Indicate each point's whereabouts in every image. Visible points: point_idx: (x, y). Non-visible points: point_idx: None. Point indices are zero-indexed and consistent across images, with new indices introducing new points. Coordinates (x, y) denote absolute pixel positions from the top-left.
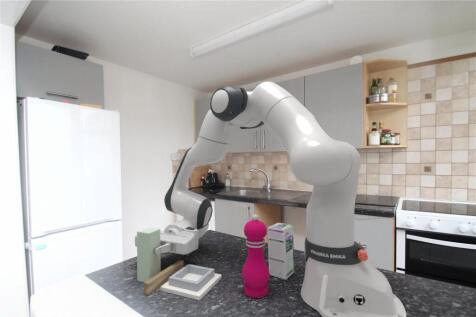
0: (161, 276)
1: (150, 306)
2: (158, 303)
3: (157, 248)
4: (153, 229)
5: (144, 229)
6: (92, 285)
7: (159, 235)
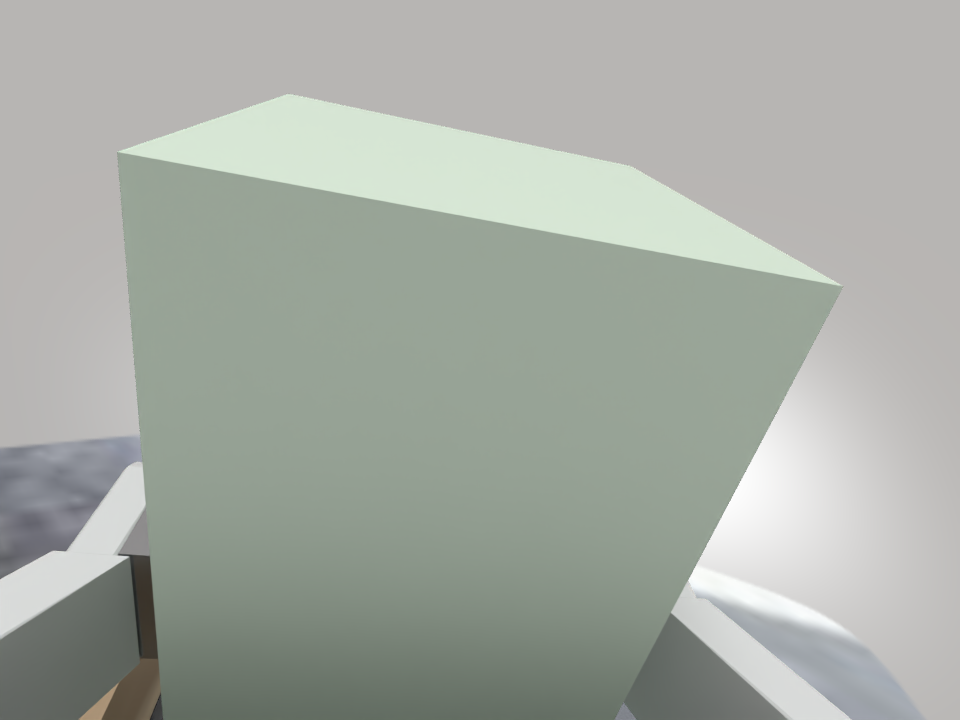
0: None
1: (76, 480)
2: (14, 513)
3: (134, 466)
4: (421, 174)
5: (682, 206)
6: (695, 567)
7: (162, 398)
